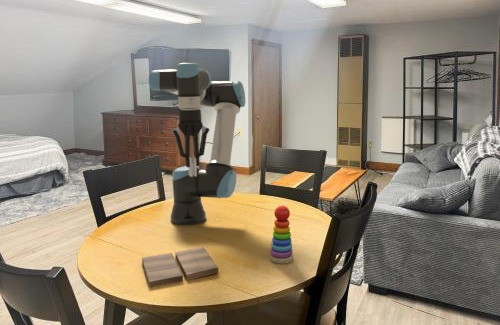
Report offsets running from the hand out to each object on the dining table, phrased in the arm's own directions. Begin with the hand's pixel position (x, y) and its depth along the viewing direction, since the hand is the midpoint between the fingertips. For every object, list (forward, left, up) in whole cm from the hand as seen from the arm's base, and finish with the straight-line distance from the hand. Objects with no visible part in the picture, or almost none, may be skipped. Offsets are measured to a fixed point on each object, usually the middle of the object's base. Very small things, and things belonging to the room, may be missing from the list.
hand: (192, 175), depth 149 cm
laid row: (+5, -22, -26) cm, 35 cm away
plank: (+11, -13, -26) cm, 31 cm away
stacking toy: (+33, +6, -27) cm, 43 cm away
